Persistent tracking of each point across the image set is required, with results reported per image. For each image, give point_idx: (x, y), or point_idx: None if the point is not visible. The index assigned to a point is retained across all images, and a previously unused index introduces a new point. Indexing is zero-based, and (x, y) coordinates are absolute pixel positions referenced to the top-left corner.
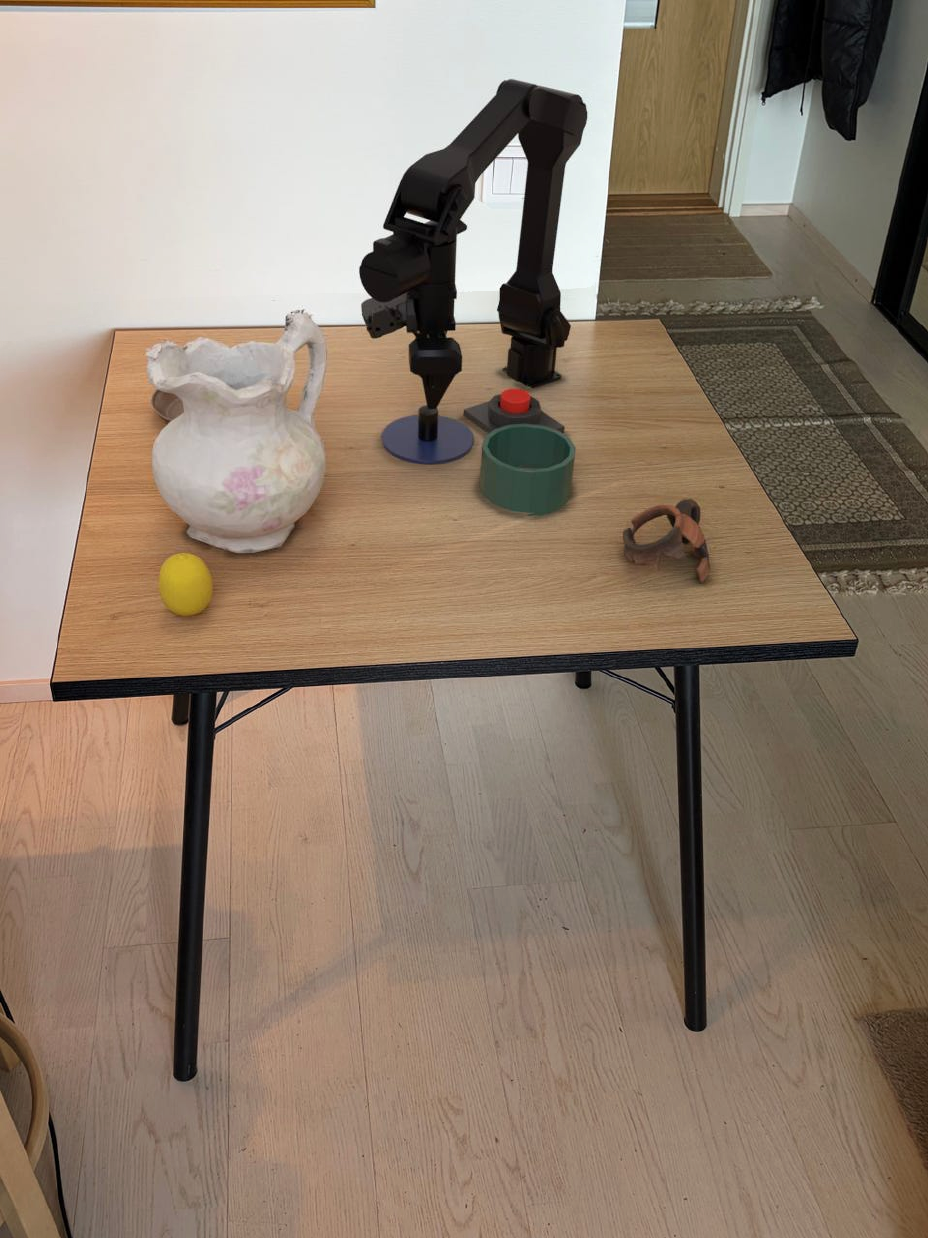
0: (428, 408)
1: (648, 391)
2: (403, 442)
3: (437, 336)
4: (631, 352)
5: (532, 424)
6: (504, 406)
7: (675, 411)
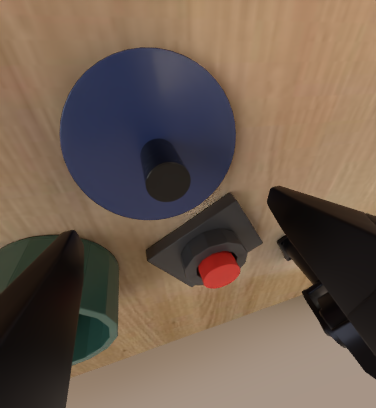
0: (63, 233)
1: (252, 300)
2: (128, 108)
3: (363, 311)
4: (305, 283)
5: (116, 330)
6: (207, 263)
7: (223, 315)
